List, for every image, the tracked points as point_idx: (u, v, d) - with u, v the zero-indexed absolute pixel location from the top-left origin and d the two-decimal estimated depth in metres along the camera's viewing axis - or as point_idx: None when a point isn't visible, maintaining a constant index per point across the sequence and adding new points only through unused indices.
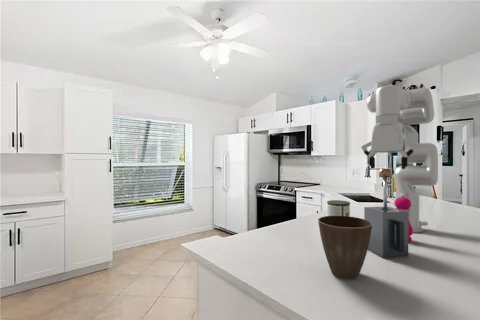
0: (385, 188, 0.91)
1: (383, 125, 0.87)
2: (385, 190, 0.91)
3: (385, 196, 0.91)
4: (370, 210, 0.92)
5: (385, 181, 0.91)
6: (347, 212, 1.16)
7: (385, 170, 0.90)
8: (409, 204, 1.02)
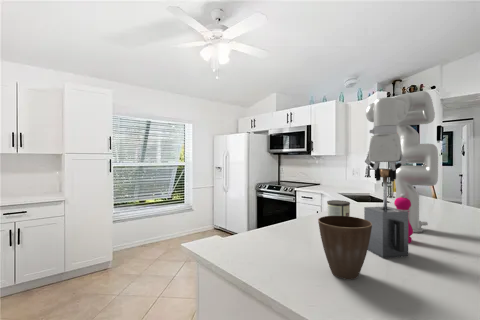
0: (385, 188, 0.91)
1: None
2: (385, 190, 0.91)
3: (385, 196, 0.91)
4: (370, 210, 0.92)
5: (385, 181, 0.91)
6: (347, 212, 1.16)
7: (385, 170, 0.90)
8: (409, 204, 1.02)
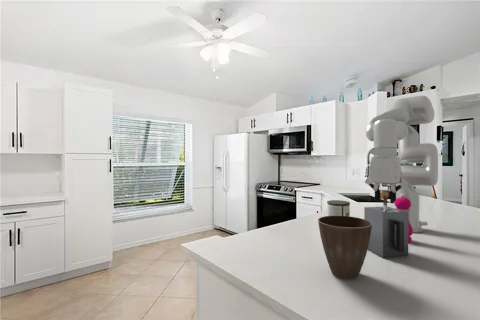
0: (385, 209, 0.91)
1: None
2: None
3: None
4: (370, 210, 0.92)
5: (385, 202, 0.91)
6: (347, 212, 1.16)
7: (385, 192, 0.90)
8: (409, 204, 1.02)
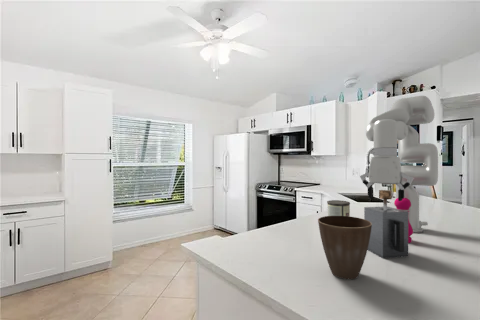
0: None
1: None
2: None
3: None
4: (370, 210, 0.92)
5: (385, 203, 0.91)
6: (347, 212, 1.16)
7: (385, 192, 0.90)
8: (409, 204, 1.02)
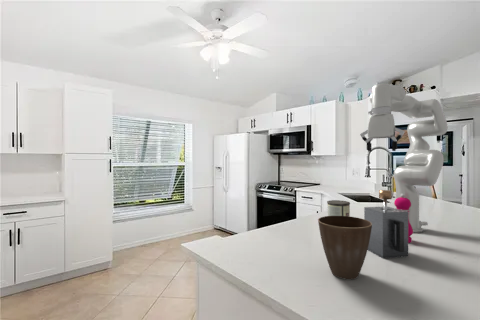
0: None
1: None
2: None
3: None
4: (370, 210, 0.92)
5: (385, 203, 0.91)
6: (347, 212, 1.16)
7: (385, 192, 0.90)
8: (409, 204, 1.02)
